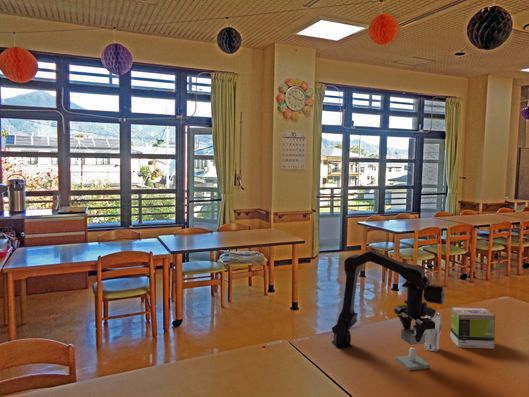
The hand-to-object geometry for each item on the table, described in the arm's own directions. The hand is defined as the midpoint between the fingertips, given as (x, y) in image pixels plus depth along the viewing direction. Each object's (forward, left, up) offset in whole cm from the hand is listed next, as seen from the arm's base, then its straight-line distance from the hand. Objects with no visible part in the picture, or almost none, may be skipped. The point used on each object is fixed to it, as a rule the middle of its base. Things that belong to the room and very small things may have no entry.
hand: (412, 338), depth 161 cm
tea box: (+36, +10, -11) cm, 39 cm away
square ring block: (0, 0, -1) cm, 1 cm away
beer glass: (+16, +10, -11) cm, 22 cm away
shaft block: (0, 0, -10) cm, 10 cm away
